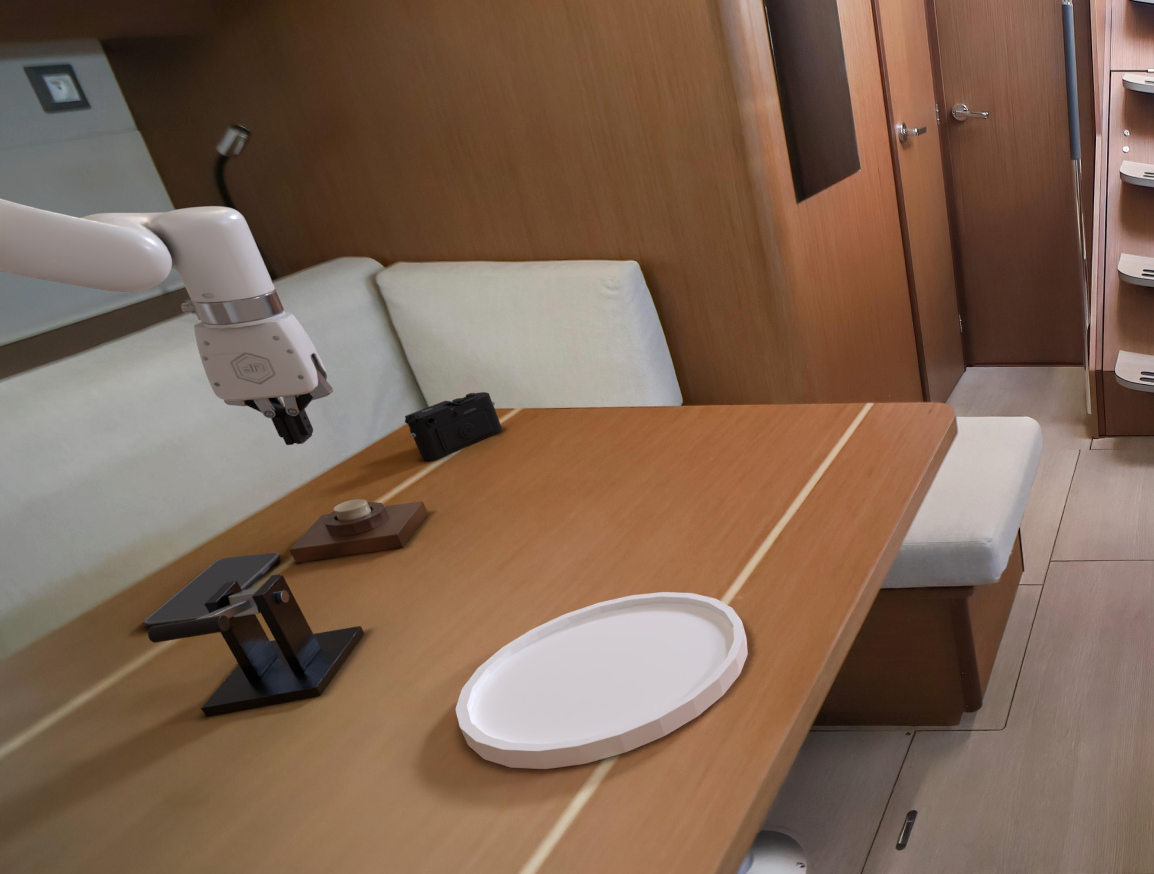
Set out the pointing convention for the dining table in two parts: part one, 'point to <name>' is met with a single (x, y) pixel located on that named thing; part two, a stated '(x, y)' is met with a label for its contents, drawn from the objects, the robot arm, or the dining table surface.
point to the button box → (360, 532)
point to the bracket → (276, 651)
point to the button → (352, 509)
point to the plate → (602, 680)
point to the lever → (207, 619)
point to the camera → (453, 425)
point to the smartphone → (211, 587)
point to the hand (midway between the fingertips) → (299, 440)
